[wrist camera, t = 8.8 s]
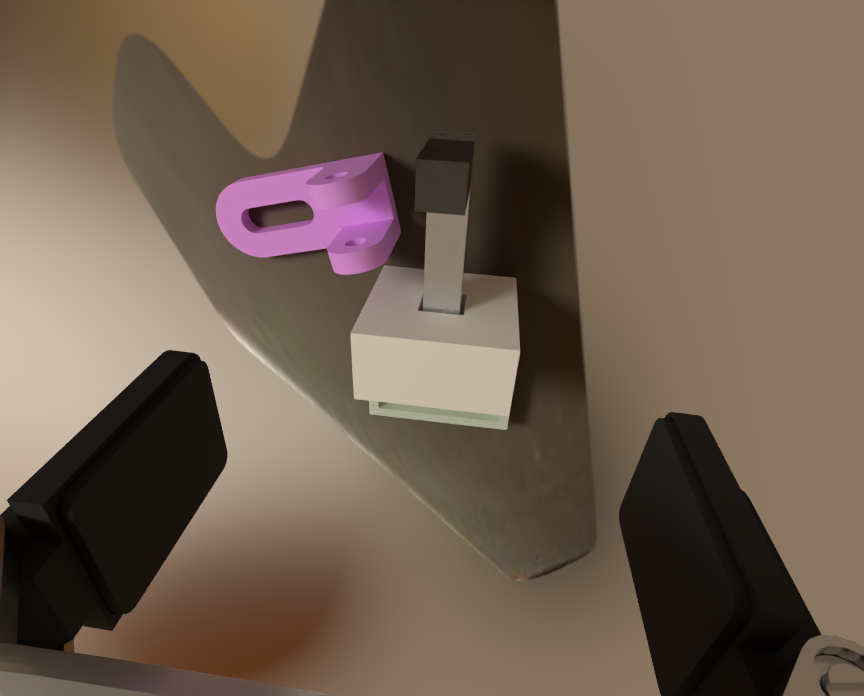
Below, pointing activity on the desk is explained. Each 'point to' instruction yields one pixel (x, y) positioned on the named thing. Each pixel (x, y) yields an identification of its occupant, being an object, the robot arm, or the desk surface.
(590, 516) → the desk surface
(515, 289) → the block
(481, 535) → the desk surface
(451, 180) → the grey upright plate
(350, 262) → the bracket
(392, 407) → the tray
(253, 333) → the desk surface
